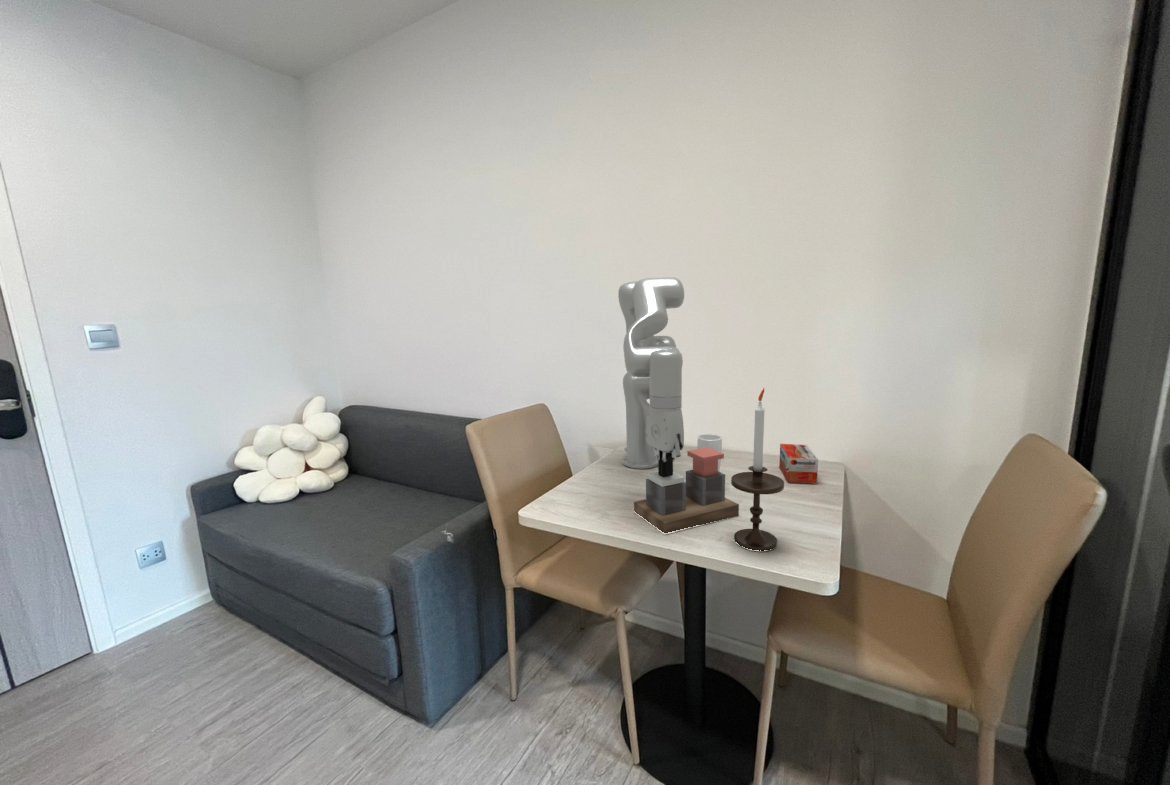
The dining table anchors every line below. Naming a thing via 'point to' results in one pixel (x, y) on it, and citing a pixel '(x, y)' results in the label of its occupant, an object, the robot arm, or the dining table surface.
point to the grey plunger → (665, 479)
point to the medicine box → (798, 464)
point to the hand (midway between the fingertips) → (665, 475)
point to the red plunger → (705, 461)
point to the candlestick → (757, 490)
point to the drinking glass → (710, 443)
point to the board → (686, 503)
